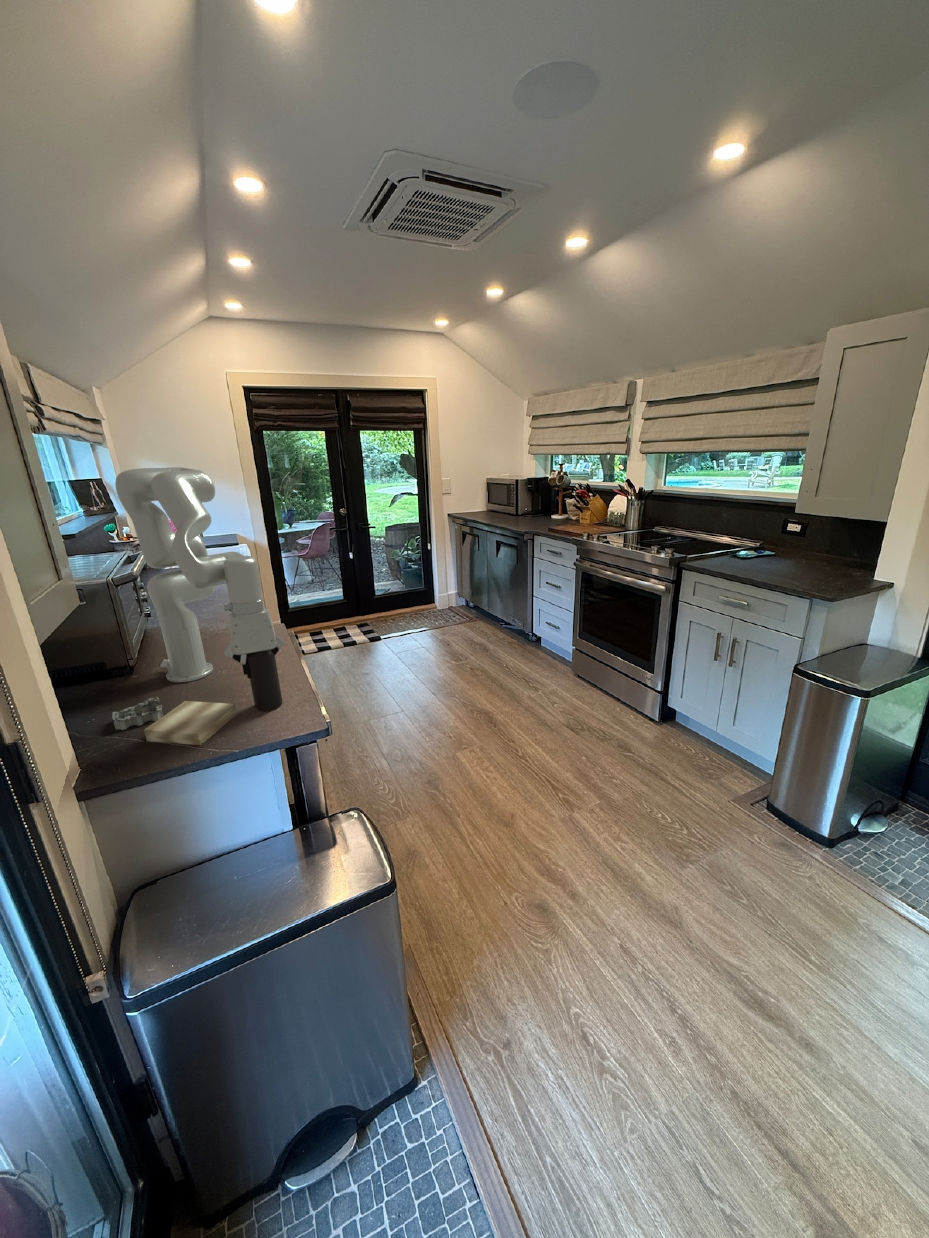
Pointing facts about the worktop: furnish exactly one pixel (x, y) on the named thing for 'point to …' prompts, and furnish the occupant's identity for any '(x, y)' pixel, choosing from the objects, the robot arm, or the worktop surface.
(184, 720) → the maple base
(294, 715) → the worktop surface
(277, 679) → the vinegar
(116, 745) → the worktop surface
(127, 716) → the egg carton
